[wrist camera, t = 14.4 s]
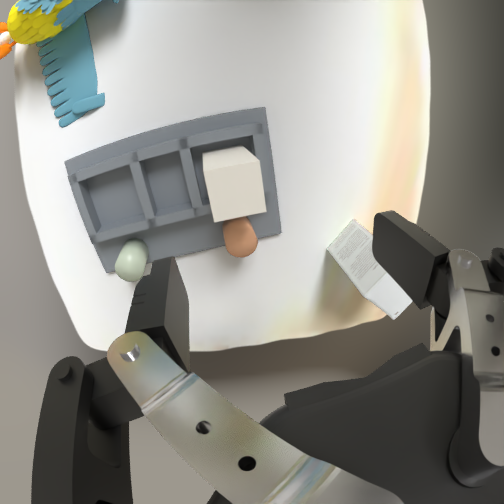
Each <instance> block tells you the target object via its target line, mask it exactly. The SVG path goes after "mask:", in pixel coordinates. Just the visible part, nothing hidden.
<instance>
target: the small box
mask: <svg viewBox="0 0 504 504" xmlns="http://www.w3.org/2000/svg"><path fill="white" fill-rule="evenodd" d="M372 240H373V235H372V234H371V233H370V232H369V231H368V230H367V229H365V228H364V227H363V226H362V225H361V224H359V223H358V222H357V221H356V220H355V219H353V220H352V221H351V222H350V223H349V225H348V226H347V227H346V228H345V229H344V230H343V231H342V232H341V234H340V235H339V236H338V237H337V238H336V239H335V240H334V241H333V243H332V244H331V245H330V246H329V247H328V248H327V250H328V251H329V253H330V254H331V255H332V257H333V258H334V259H335V260H336V262H337V263H338V264H339V265H340V267H341V268H342V269H343V271H344V272H345V273H346V275H347V276H348V277H349V279H350V280H351V281H352V283H353V284H354V285H355V287H356V288H357V289H358V291H359V292H360V293H361V295H362V296H363V297H364V298H366V299H367V300H369V301H370V302H372V303H373V304H374V305H376V306H377V307H378V308H380V309H381V310H382V311H384V312H385V313H386V314H387V315H389V316H390V317H391V318H392V319H393V320H394V319H395V318H396V317H397V316H399V315H400V314H401V313H402V311H404V310H405V309H406V307H407V306H408V305H409V304H410V303H411V302H412V299H411V298H410V297H409V296H408V295H407V294H406V293H405V292H404V290H403V289H402V288H401V287H400V286H399V285H398V284H397V283H396V282H395V281H394V279H393V278H392V277H391V276H390V275H389V274H388V273H387V272H386V271H385V270H384V269H383V268H382V267H381V266H380V264H379V263H378V262H377V261H376V260H375V258H374V256H373V252H372Z"/></svg>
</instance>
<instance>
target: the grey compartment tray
mask: <svg viewBox="0 0 504 504" xmlns="http://www.w3.org/2000/svg"><path fill="white" fill-rule="evenodd" d="M237 145H242V146H244V147H245V148H246V149H247V150H248V151H249V152H250V153H252V154H253V155H254V156H255V157H256V158H257V159H258V160H260V167H261V174H262V182H263V189H264V196H265V204H266V211H267V212H263V213H258V214H253V215H248V216H243V217H238V218H233V219H229V220H224V221H219V222H215V223H214V219H213V214H212V210H211V205H210V200H209V196H208V191H207V186H206V182H205V177H204V172H203V154H202V152H206V151H211V150H215V149H221V148H226V147H231V146H237ZM65 166H66V169H67V173H68V179H69V182H70V186H71V189H72V192H73V195H74V198H75V200H76V203H77V206H78V209H79V212H80V214H81V217H82V220H83V222H84V225H85V227H86V230H87V232H88V235H89V237H90V240H91V242H92V244H94V247H95V249H96V251H97V254H98V256H99V258H100V260H101V263H102V265H103V267H104V269H105V271H106V273H108V272H113V271H116V273H117V275H118V276H119V277H120V278H121V279H123V280H125V281H129V282H134V281H137V280H139V279H140V278H141V277H142V276H143V273H144V269H145V265H146V263H151V262H153V261H154V260H158V259H162V258H167V257H171V256H173V257H177V256H181V255H186V254H190V253H194V252H199V251H203V250H208V249H212V248H217V247H221V246H225V245H226V249H227V251H228V252H229V253H230V254H231V255H233V256H235V257H246V256H249V255H250V254H252V253H253V252H254V251H255V249H256V247H257V244H258V240H257V238H262V237H266V236H271V235H276V234H280V233H281V224H280V216H279V207H278V199H277V191H276V183H275V175H274V167H273V160H272V152H271V145H270V138H269V131H268V124H267V117H266V111H265V107H262V108H254V109H247V110H241V111H235V112H229V113H223V114H218V115H213V116H208V117H203V118H198V119H194V120H190V121H185V122H181V123H177V124H173V125H169V126H165V127H162V128H158V129H154V130H151V131H147V132H144V133H141V134H137V135H134V136H131V137H128V138H125V139H122V140H119V141H116V142H113V143H110V144H107V145H105V146H102V147H99V148H97V149H94V150H91V151H89V152H86V153H84V154H81V155H79V156H76V157H74V158H72V159H69V160H67V161H65Z"/></svg>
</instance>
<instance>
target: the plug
mask: <svg viewBox="0 0 504 504" xmlns="http://www.w3.org/2000/svg"><path fill="white" fill-rule="evenodd" d="M202 154H203V172H204V177H205V182H206V186H207V191H208V196H209V200H210V205H211V210H212V214H213V219H214V223H215V222H219V221H224V220H229V219H233V218H238V217H243V216H248V215H253V214H258V213H263V212H267V211H266V204H265V196H264V189H263V182H262V174H261V167H260V160H258V159H257V158H256V157H255V156H254V155H253V154H252V153H250V152H249V151H248V150H247V149H246V148H245V147H244V146H242V145H237V146H231V147H226V148H221V149H215V150H211V151H206V152H202Z"/></svg>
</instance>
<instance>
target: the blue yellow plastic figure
mask: <svg viewBox="0 0 504 504" xmlns="http://www.w3.org/2000/svg"><path fill="white" fill-rule="evenodd" d="M100 1H102V0H19V1H18V2H17V3H16V4H15V5H14V6H13V7H12V9H11V11H10V13H9V17H8V21H7V23H4V22H0V33H2V34H1V35H0V59H2V58H3V57H5V56H6V55H7V54H8V53H9V52H10V51H11V50H12V48H11V47H12V46H14V45H15V44H16V43H20V44H29V43H31V44H34V43H36V42H37V44H36V45H37V46H38V47H41V46H43V45H45V44H46V43H48V42H50V41H51V42H50V43H48V44H47V45H45V46H44V47H42V48H41V49H40V50H39V52H38V55H39V56H44V55H46V54H47V53H49V52H50V53H49V54H47V55H46V56H44V57H43V58H42V59H41V61H40V64H41V65H42V66H44V65H46V64H48V63H50V62H52V61H54V60H55V61H54V62H52V63H51V64H49V65H48V66H46V67H45V68H44V69H43V72H42V74H43V75H44V76H46V75H49V74H51V73H52V72H54V71H56V70H58V69H59V70H58V71H56V72H55V73H53V74H52V75H50V76H49V77H47V78H46V80H45V85H47V86H49V85H51V84H53V83H55V82H57V81H59V80H60V81H59V82H57V83H56V84H54V85H53V86H51V87H50V88H49V89H48V92H47V93H48V95H49V96H53V95H55V94H57V93H59V92H61V91H63V90H64V91H63V92H61V93H60V94H58V95H57V96H55V97H54V98H53V99H52V100H51V105H52V106H54V107H55V106H58V105H60V104H62V103H63V102H65V101H67V100H68V101H67V102H65V103H64V104H62V105H61V106H59V107H58V108H57V109H56V110H55V112H54V115H55V116H56V117H60V116H62V115H64V114H66V113H68V112H70V111H71V112H70V113H69V114H67V115H65V116H64V117H62V118H61V119H60V120H59V125H60V126H61V127H65V126H67V125H69V124H71V123H73V122H74V121H76V120H77V119H79V118H80V117H81V116H83V115H84V114H85V113H86V112H88V111H89V110H92V109H95V108H98V107H101V106H104V104H105V95H104V93H101V94H98V95H97V74H96V69H95V63H94V56H93V50H92V46H91V42H90V37H89V32H88V28H87V23H86V18H85V12H87V11H88V10H90V9H91V8H92V7H94V6H95V5H96V4H98V3H99V2H100ZM113 2H115V3H118V2H119V0H113ZM11 38H12V39H13V40H14V41H13V42H12V43H11V44H8V43H9V42H10V41H11ZM32 42H33V43H32ZM29 45H30V44H29ZM51 51H52V52H51ZM61 79H62V80H61Z"/></svg>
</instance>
